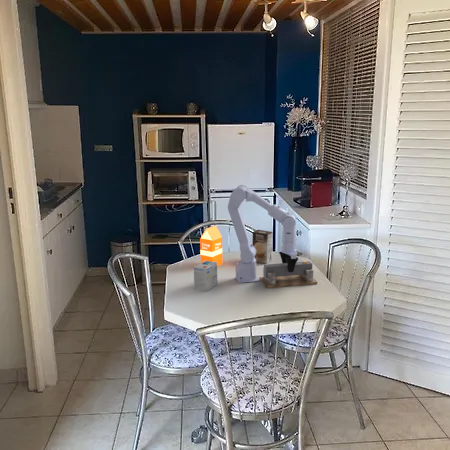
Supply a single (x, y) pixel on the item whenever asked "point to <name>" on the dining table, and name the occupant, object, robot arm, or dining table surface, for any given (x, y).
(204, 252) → the orange juice
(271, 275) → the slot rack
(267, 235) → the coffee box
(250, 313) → the dining table surface
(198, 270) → the light bulb box
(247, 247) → the robot arm
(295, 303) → the dining table surface
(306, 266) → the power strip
